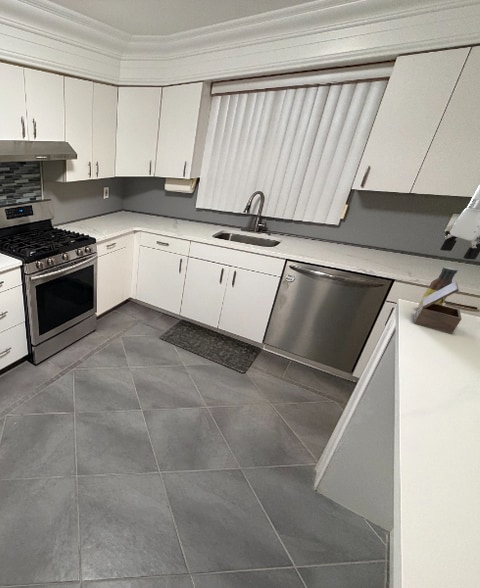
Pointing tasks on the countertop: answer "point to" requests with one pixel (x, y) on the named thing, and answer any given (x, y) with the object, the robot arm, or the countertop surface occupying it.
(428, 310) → the walnut box
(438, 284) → the sauce bottle
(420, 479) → the countertop surface
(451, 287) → the hatch
